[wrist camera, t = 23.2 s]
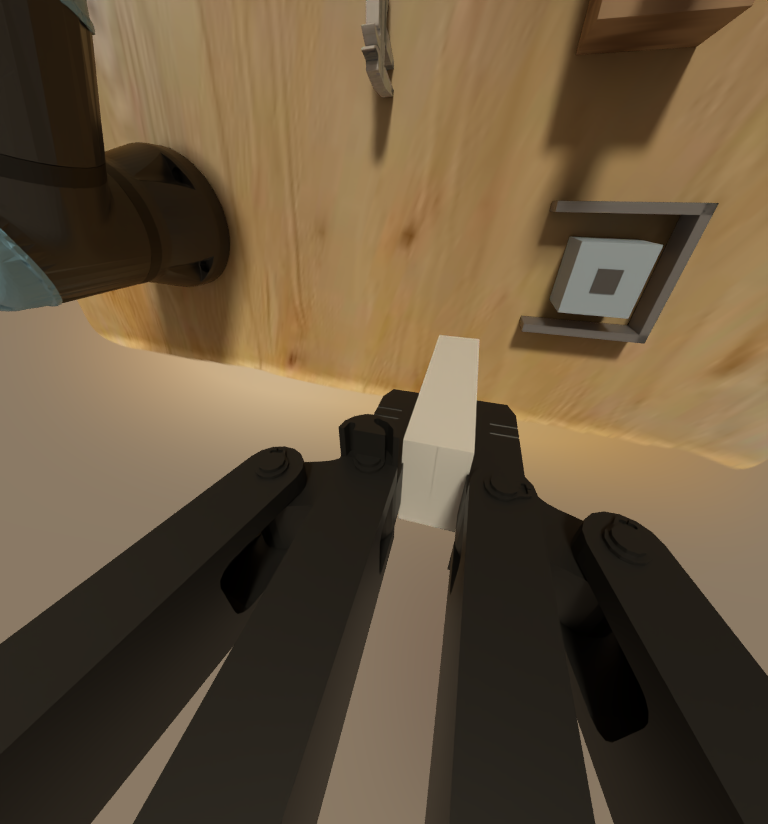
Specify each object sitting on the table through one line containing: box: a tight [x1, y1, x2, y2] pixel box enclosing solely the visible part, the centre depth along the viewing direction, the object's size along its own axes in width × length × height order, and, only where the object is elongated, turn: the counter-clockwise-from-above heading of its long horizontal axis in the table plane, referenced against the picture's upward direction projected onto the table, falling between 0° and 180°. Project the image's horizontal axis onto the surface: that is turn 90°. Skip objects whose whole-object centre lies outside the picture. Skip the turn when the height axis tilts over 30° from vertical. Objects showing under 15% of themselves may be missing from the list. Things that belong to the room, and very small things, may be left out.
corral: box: [519, 201, 719, 343], centre depth 30 cm, size 12×12×3 cm
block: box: [549, 236, 663, 319], centre depth 29 cm, size 6×6×5 cm
